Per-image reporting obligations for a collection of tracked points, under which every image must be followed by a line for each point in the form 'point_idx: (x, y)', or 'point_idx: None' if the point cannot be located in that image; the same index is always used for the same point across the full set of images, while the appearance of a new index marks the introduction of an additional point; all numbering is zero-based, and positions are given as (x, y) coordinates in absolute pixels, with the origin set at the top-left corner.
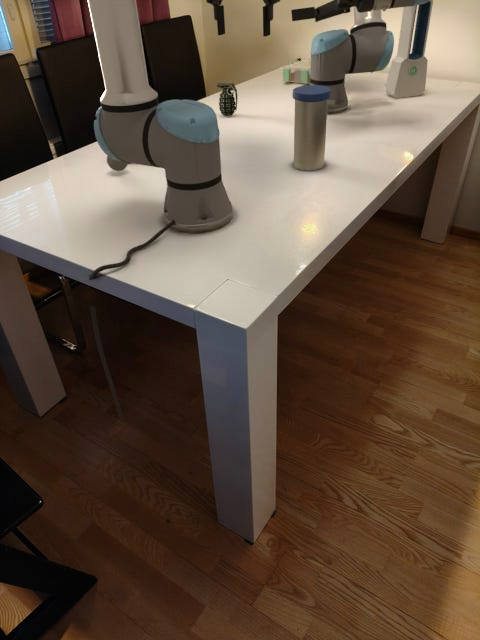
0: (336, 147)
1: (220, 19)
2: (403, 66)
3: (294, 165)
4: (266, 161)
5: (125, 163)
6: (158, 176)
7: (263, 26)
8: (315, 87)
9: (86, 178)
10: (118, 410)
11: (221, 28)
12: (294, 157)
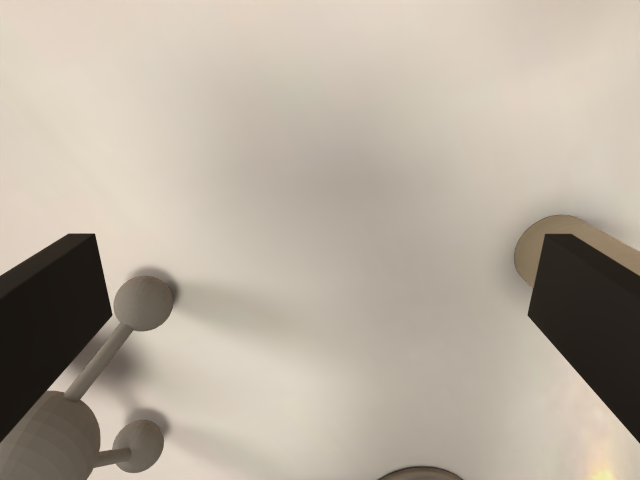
0: (613, 91)
1: (32, 378)
2: None
3: (521, 276)
4: (438, 265)
5: (163, 443)
6: (242, 412)
7: (572, 362)
8: None
9: None
10: None
11: (82, 319)
12: (530, 285)
